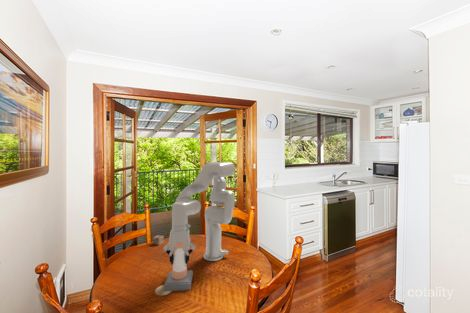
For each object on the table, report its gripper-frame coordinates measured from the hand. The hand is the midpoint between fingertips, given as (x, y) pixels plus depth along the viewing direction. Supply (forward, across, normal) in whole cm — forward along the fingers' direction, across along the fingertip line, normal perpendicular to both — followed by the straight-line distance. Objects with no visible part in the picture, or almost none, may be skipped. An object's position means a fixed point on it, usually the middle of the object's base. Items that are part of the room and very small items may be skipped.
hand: (179, 262), depth 108 cm
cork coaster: (+11, +6, +5) cm, 14 cm away
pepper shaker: (+7, 0, -1) cm, 7 cm away
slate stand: (+10, 0, 0) cm, 10 cm away
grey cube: (+10, +22, -51) cm, 56 cm away
